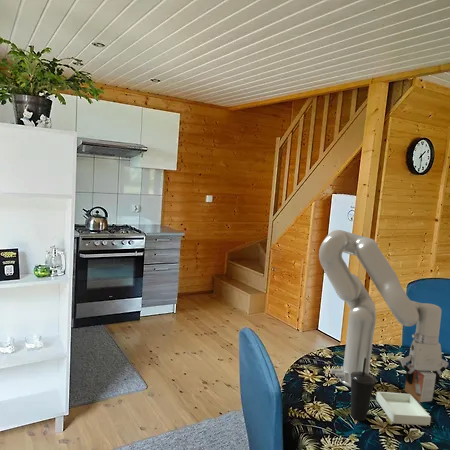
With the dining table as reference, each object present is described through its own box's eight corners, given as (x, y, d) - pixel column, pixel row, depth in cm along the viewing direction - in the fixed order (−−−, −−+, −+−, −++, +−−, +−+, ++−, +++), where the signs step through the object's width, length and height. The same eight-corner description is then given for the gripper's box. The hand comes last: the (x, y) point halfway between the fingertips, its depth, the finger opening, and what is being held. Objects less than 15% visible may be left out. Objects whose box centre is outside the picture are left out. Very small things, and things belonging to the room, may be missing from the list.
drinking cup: (351, 407, 136) (358, 351, 134) (373, 416, 131) (381, 358, 129) (342, 416, 130) (349, 357, 128) (365, 426, 125) (373, 366, 123)
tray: (393, 423, 128) (394, 414, 128) (376, 399, 142) (377, 391, 142) (429, 425, 128) (431, 416, 128) (409, 401, 142) (410, 393, 142)
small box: (404, 391, 150) (407, 364, 149) (416, 389, 151) (419, 363, 150) (420, 402, 142) (424, 374, 141) (432, 401, 144) (436, 373, 143)
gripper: (408, 341, 140) (403, 387, 142) (456, 343, 141) (451, 389, 142) (398, 333, 148) (394, 377, 150) (444, 335, 148) (439, 379, 150)
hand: (422, 383), depth 146 cm, fingers open, 9 cm apart
